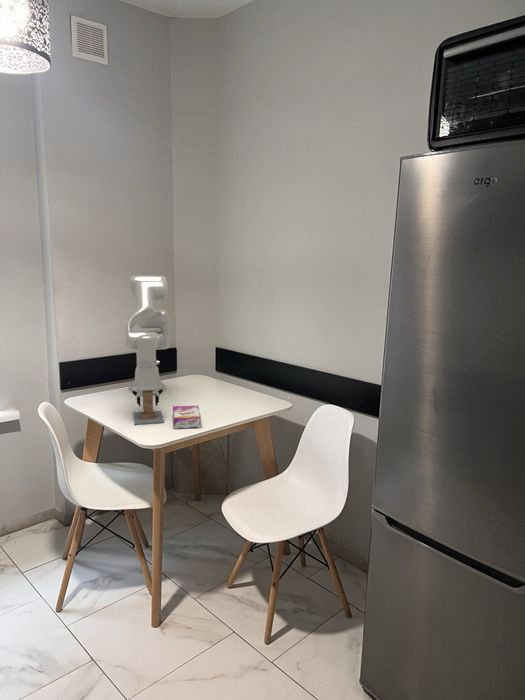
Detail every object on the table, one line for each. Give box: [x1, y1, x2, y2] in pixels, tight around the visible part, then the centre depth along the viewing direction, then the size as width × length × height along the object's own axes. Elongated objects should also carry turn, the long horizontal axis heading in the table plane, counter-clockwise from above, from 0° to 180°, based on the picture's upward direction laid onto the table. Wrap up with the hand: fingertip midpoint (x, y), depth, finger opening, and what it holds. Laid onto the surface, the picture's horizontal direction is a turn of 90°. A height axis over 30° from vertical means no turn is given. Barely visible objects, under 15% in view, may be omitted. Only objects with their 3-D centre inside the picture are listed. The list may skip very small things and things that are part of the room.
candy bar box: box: [172, 405, 202, 429], centre depth 214 cm, size 11×5×16 cm
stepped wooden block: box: [140, 391, 156, 419], centre depth 218 cm, size 6×6×12 cm
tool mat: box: [133, 410, 165, 426], centre depth 219 cm, size 16×12×1 cm
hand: (148, 404), depth 218 cm, fingers open, 6 cm apart
